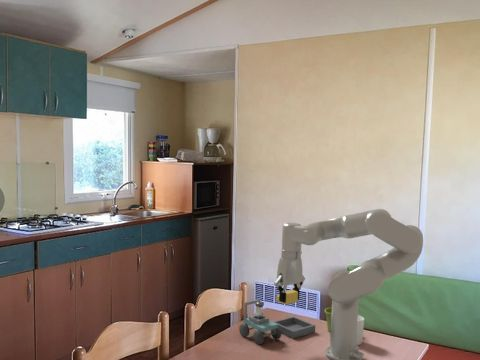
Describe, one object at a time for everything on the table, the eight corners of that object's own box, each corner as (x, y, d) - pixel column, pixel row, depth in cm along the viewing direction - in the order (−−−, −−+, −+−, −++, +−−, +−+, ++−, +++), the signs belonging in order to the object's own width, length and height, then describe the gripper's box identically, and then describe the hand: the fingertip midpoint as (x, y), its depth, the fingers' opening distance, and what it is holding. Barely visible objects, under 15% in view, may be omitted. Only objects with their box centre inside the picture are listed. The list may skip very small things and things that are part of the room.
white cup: (339, 339, 183) (340, 315, 183) (354, 337, 187) (355, 313, 186) (351, 347, 176) (352, 322, 176) (367, 344, 179) (368, 319, 179)
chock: (297, 301, 176) (298, 291, 176) (285, 304, 172) (286, 294, 172) (287, 298, 181) (288, 288, 181) (275, 300, 177) (276, 290, 177)
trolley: (281, 340, 180) (282, 307, 179) (261, 346, 174) (262, 311, 173) (258, 329, 191) (259, 298, 190) (239, 334, 185) (240, 302, 184)
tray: (315, 332, 190) (315, 325, 190) (293, 338, 182) (293, 331, 182) (293, 322, 200) (293, 316, 200) (271, 328, 192) (271, 321, 192)
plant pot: (319, 330, 193) (320, 310, 192) (331, 325, 199) (332, 305, 199) (338, 337, 186) (339, 316, 186) (350, 331, 193) (351, 311, 192)
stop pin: (265, 321, 182) (265, 303, 182) (258, 323, 180) (259, 304, 180) (259, 318, 185) (260, 300, 185) (252, 320, 183) (253, 302, 183)
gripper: (299, 251, 183) (297, 294, 184) (268, 255, 172) (266, 301, 173) (313, 254, 177) (311, 299, 178) (281, 259, 166) (279, 306, 167)
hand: (289, 299), depth 176 cm, fingers closed on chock, 6 cm apart
